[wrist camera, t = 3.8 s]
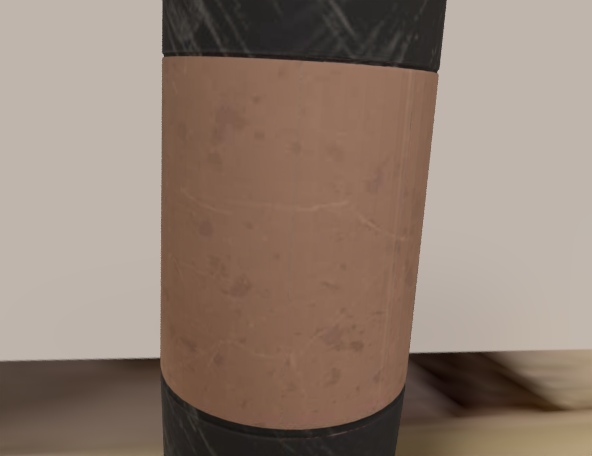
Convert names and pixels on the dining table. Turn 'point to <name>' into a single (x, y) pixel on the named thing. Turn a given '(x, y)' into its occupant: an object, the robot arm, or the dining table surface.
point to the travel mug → (292, 220)
